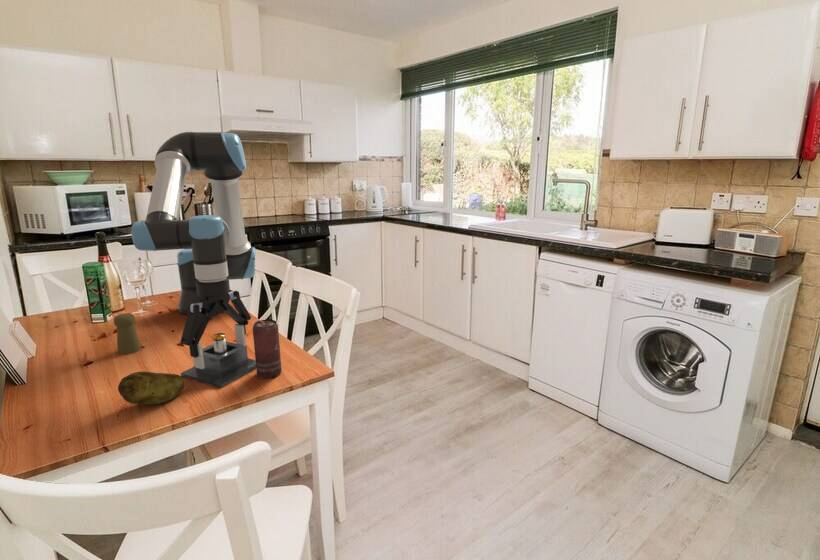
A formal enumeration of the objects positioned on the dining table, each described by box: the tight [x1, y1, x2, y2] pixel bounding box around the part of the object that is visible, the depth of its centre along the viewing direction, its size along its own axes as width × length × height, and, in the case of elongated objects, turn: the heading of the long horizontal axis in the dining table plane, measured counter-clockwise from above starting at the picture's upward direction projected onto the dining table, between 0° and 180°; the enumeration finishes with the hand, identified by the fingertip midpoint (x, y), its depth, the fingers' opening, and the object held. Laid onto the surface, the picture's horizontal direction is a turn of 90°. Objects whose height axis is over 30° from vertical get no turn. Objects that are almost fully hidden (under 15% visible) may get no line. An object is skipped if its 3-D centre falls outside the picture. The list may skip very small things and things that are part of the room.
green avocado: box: [117, 370, 186, 405], centre depth 100 cm, size 8×13×8 cm, turn 122°
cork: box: [113, 312, 143, 355], centre depth 127 cm, size 6×6×11 cm
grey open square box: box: [196, 341, 249, 378], centre depth 115 cm, size 9×9×5 cm
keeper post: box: [180, 332, 256, 389], centre depth 115 cm, size 14×14×10 cm
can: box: [252, 319, 282, 379], centre depth 113 cm, size 6×6×14 cm
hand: (221, 357), depth 115 cm, fingers open, 13 cm apart
